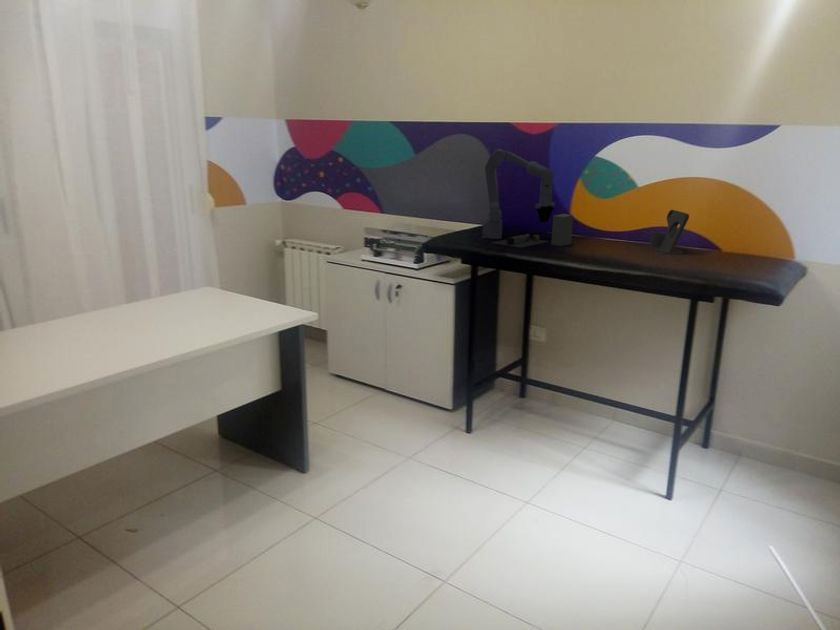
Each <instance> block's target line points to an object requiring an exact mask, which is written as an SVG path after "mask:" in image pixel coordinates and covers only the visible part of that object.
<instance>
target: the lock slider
mask: <svg viewBox="0 0 840 630" xmlns="http://www.w3.org/2000/svg"><path fill="white" fill-rule="evenodd" d="M540 236H541V235H539V234H533V235H532V236H531V239H532V240H535V241H537V240H541V239H540Z"/></svg>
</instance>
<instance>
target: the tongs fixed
mask: <svg viewBox="0 0 840 630" xmlns="http://www.w3.org/2000/svg"><path fill="white" fill-rule="evenodd" d="M524 235H526V236H527V241H530V239H531V234H530V233H525V234H524ZM524 235H523V234H522V235H516V236H512V237H511V236H510V237H506V239H507V243H506V244H508V245H509V238H514V237H519V236H524Z"/></svg>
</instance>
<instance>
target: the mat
mask: <svg viewBox="0 0 840 630" xmlns="http://www.w3.org/2000/svg"><path fill="white" fill-rule="evenodd" d="M548 242H550V241H549V240H542V239H539V240H537V241H535V240H532V238H530V241H525V242H521V243H516V244H512V245H510V244H509V245H508V244H506V243H507V238H505V239H502V240H497V241H491V242H490V244H496V245H502V246H510V247H514V248H521V249H522V248H525V247H531V246H535V245H539V244H543V243H548Z"/></svg>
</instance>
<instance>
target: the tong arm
mask: <svg viewBox="0 0 840 630" xmlns="http://www.w3.org/2000/svg"><path fill="white" fill-rule="evenodd" d="M518 236H519V237H515V236H513V237H514V238H510V237H508V238H509V244H510V245H512V244H516V243H521V242H525V241H527V236H526V235H525V234H524V236H520V235H518Z"/></svg>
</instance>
